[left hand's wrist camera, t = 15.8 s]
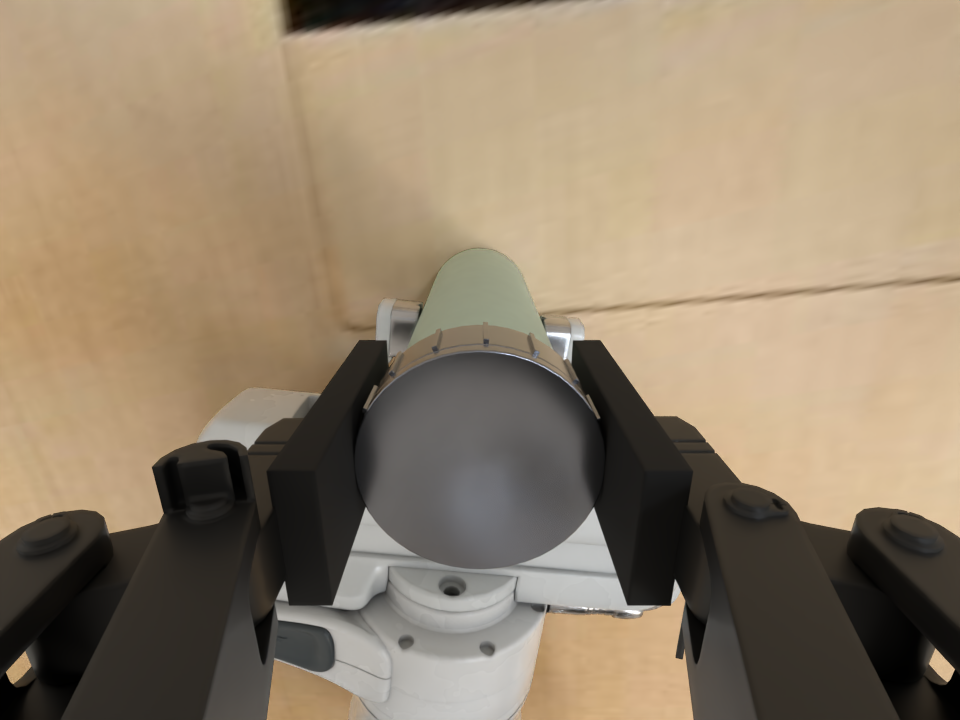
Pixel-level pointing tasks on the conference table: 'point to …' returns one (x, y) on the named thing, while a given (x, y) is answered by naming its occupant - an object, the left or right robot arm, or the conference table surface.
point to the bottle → (479, 296)
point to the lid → (479, 448)
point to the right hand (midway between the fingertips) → (481, 311)
